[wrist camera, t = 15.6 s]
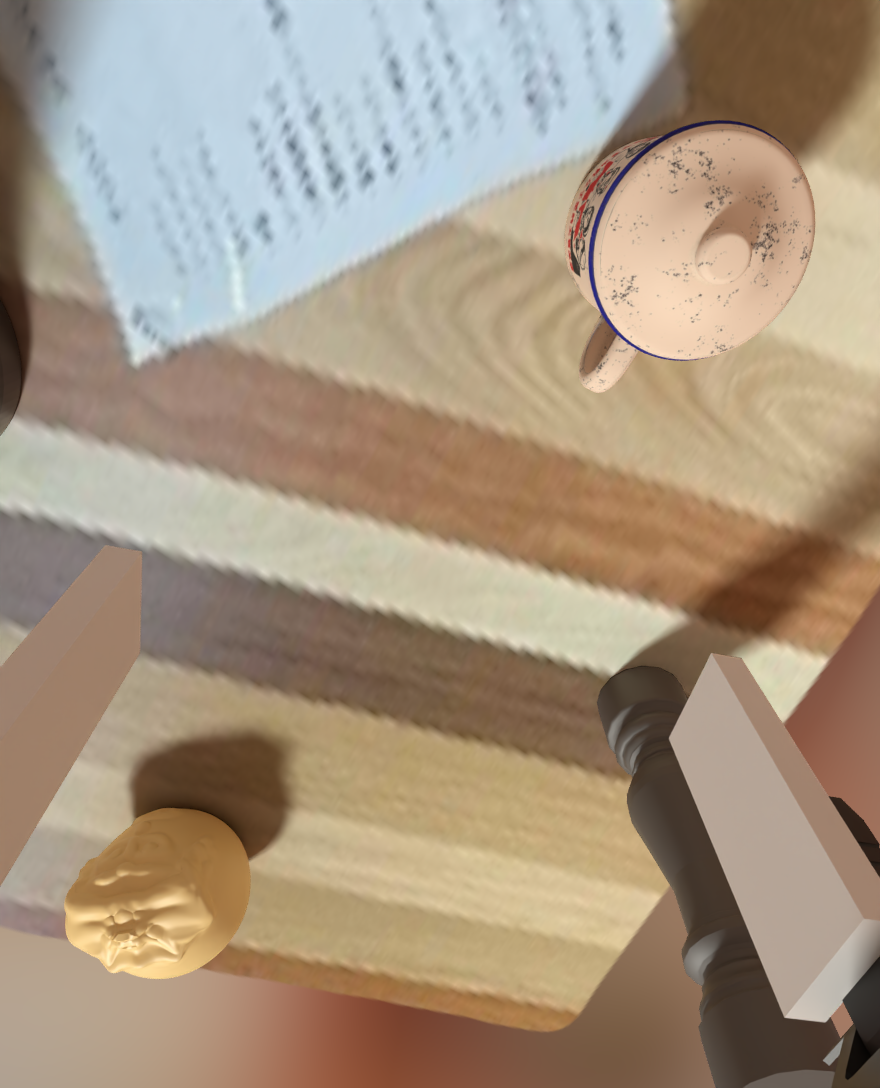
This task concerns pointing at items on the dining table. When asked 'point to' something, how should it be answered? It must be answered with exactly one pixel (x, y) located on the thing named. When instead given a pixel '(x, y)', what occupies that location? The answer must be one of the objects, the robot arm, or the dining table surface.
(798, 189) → the teacup with lid
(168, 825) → the pale yellow lumpy ball
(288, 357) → the dining table surface
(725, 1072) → the candle holder
